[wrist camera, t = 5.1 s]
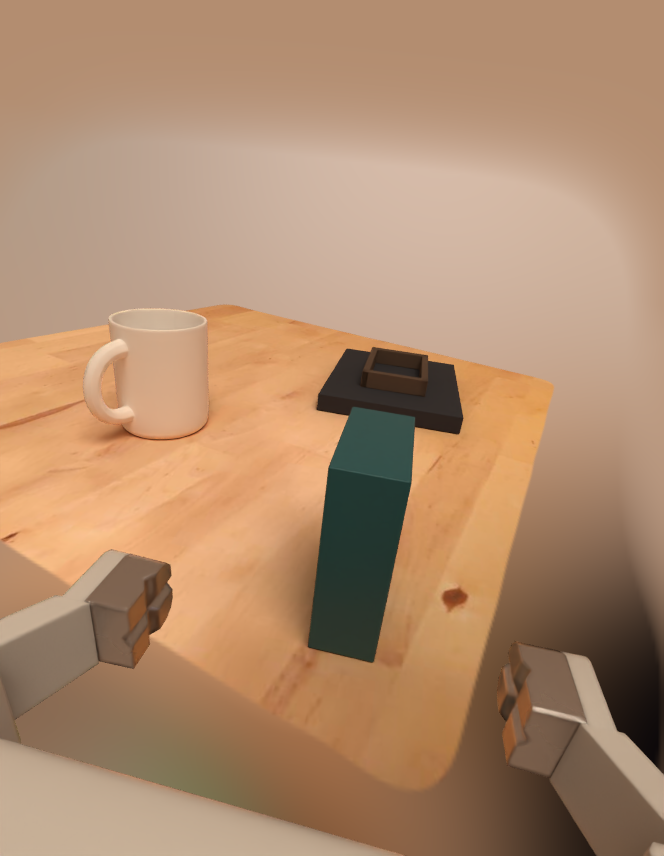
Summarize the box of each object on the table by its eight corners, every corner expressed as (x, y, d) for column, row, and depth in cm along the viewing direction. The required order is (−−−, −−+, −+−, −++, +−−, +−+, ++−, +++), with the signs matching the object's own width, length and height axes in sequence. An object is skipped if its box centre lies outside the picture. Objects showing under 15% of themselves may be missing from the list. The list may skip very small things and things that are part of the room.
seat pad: (450, 377, 68) (456, 351, 66) (459, 434, 50) (467, 400, 48) (345, 361, 70) (348, 335, 68) (316, 410, 52) (320, 376, 50)
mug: (123, 467, 37) (110, 344, 33) (63, 436, 41) (43, 321, 36) (226, 421, 47) (226, 321, 42) (169, 399, 50) (164, 304, 46)
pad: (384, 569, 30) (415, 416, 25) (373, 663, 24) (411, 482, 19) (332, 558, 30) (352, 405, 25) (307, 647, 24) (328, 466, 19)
